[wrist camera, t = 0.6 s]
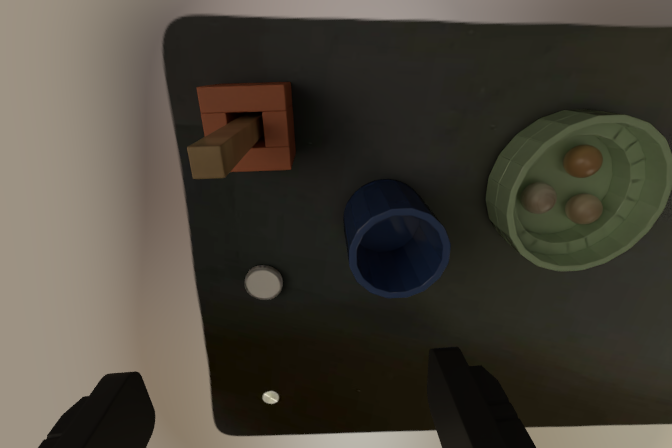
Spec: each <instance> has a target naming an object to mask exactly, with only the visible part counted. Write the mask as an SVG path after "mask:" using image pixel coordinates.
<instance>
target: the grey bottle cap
mask: <svg viewBox="0 0 672 448" xmlns="http://www.w3.org/2000/svg"><path fill="white" fill-rule="evenodd" d="M244 285H245V289H246V291H247V292H248V293H249V294H250V295H251V296H252V297H254V298H256V299H260V300H269V299H272V298H274V297H276V296H277V295H278V294H279V293H280V292H281V289H282V285H283V279H282V276H281V274H280V273H279V272H278V271H277V270H276V269H275V268H273V267H270V266H266V265H260V266H256V267H254V268H252V269H251V270H250V271H249V272H248V273H247V275H246V278H245V281H244Z"/></svg>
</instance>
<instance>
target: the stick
mask: <svg viewBox="0 0 672 448" xmlns="http://www.w3.org/2000/svg"><path fill="white" fill-rule="evenodd" d="M263 134H264V127H263V118H262V112H247V113H245V114H244V115H242V116H240V117H238V118H237V119H235V120H233V121H231V122H230V123H228V124H226V125H225V126H223V127H221V128H219V129H218V130H216V131H214V132H212V133H211V134H209V135H207V136H205V137H204V138H202V139H200V140H199V141H197V142H195V143H193V144H192V145H190V146H188V147H187V150H188V156H189V161H190V166H191V171H192V176H193V179H210V178H225V177H226V176H227V175H228V174H229V173H230V172H231V170H232V169H233V168H234V167H235V166H236V165H237V164H238V162H239V161H240V160H241V159H242V158H243V157H244V156H245V155H246V153H247V152H248V151H249V150H250V149H251V148H252V147H253V146H254V144H255V143H256V142H257V141H258V140H259V139H260V138H261V136H262V135H263Z"/></svg>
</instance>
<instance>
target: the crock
mask: <svg viewBox="0 0 672 448" xmlns="http://www.w3.org/2000/svg"><path fill="white" fill-rule="evenodd" d="M343 221H344V233H345V240H346V247H347V253H348V260H349V266H350V269H351V271H352V273H353V275H354V277H355V279H356V281H357V282H358V283H359V284H360V285H362V286H363V287H364V288H365V289H367V290H368V291H369V292H371V293H373V294H376V295H379V296H383V297H386V298H404V297H409V296H412V295H414V294H417V293H420V292H422V291H425V290H426V289H427V288H428V287H430V286H431V285H432V284H433V283H434V282H436V281H437V280H438V279H439V278H440V277H441V275H442V273H443V271H444V270H445V268H446V266H447V264H448V262H449V255H450V247H451V245H450V241H449V238H448V235H447V232H446V230H445V228H444V226H443V225H442V224H441V222H440V221H439V220H438V218H437V217H436V216H435V215H434V213H433V212H432V211H431V210H430V208H429V207H428V206H427V205H426V203H425V202H424V201H423V199H422V198H421V197H420V196H419V195H418V194H417V193H416V192H415V191H414V190H413V189H412V188H411V187H410V186H408V185H407V184H405V183H402V182H400V181H397V180H391V179H383V180H377V181H373V182H370V183H368V184H366V185H364V186H362V187H361V188H359V189H358V190H357V191H356V192H355V193H354V194H353V195H352V196H351V198H350V199H349V201H348V203H347V205H346V208H345V211H344V218H343Z"/></svg>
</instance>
